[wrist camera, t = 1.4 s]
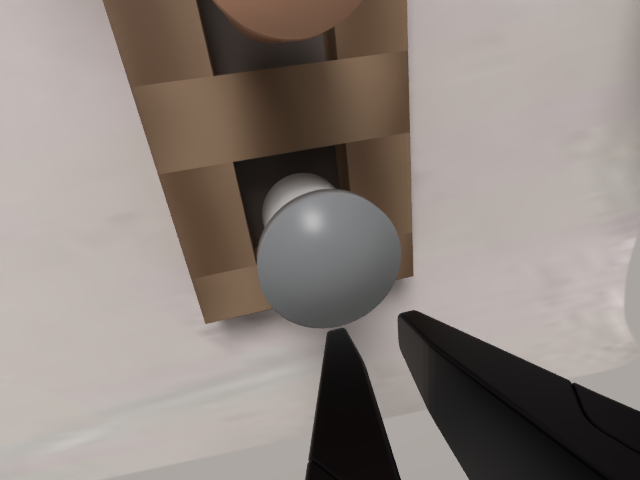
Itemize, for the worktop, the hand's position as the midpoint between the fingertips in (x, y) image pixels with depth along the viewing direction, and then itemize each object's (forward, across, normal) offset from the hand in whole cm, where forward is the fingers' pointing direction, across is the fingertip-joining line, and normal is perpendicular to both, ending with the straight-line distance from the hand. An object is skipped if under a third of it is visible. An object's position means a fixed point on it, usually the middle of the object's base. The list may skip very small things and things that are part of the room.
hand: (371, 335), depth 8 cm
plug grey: (+9, 0, 0) cm, 9 cm away
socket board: (+13, 0, -4) cm, 14 cm away
